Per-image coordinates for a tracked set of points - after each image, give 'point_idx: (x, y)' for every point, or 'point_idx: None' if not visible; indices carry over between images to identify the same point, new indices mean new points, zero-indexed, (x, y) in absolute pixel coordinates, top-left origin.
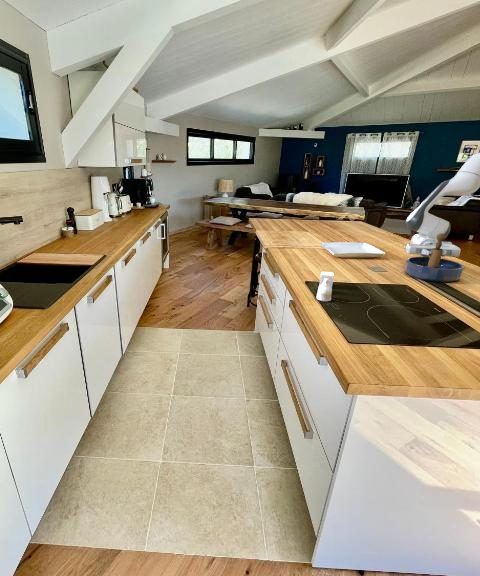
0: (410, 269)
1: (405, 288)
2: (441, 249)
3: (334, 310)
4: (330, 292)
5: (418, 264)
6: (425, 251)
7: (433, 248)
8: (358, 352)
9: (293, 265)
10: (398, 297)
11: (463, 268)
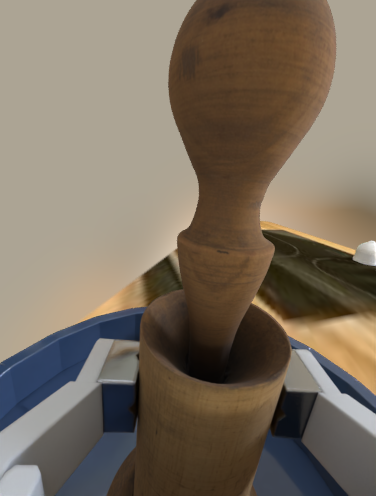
0: None
1: (280, 302)
2: (151, 336)
3: (326, 248)
4: (359, 248)
5: None
6: (366, 428)
7: (271, 376)
8: (273, 227)
9: None
10: (278, 271)
11: (20, 358)
